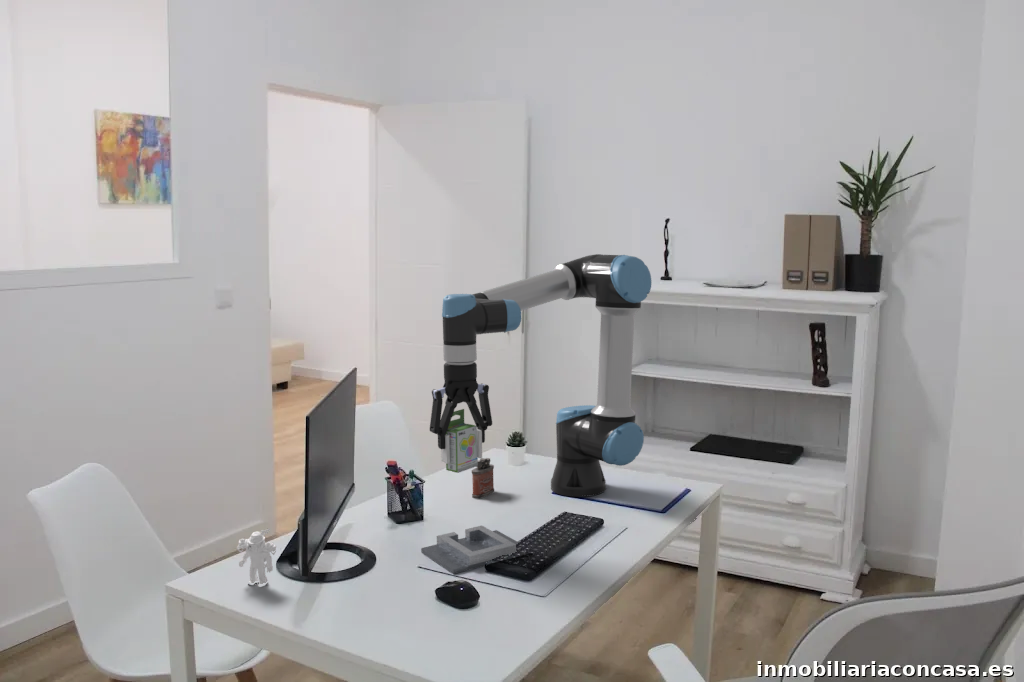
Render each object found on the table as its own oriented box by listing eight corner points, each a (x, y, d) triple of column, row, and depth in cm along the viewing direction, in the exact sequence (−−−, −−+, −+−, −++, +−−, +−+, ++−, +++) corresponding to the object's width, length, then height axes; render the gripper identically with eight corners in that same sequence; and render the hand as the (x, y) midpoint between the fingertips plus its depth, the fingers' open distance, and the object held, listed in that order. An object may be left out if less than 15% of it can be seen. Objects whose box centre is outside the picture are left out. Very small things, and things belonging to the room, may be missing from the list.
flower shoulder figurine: (281, 583, 185) (278, 527, 183) (270, 590, 182) (267, 534, 180) (246, 577, 188) (242, 523, 187) (234, 584, 185) (230, 529, 183)
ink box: (458, 473, 201) (457, 415, 200) (445, 470, 204) (444, 413, 202) (478, 466, 207) (477, 410, 205) (465, 463, 209) (464, 408, 207)
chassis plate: (496, 534, 211) (496, 522, 211) (531, 553, 199) (531, 540, 198) (421, 552, 201) (420, 539, 200) (453, 574, 188) (452, 560, 188)
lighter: (487, 489, 246) (486, 454, 244) (497, 491, 244) (496, 456, 242) (469, 497, 239) (468, 461, 238) (479, 499, 237) (478, 463, 236)
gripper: (491, 356, 210) (492, 449, 213) (411, 364, 200) (414, 462, 203) (507, 360, 204) (508, 456, 207) (426, 368, 193) (428, 470, 197)
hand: (462, 459), depth 205 cm, fingers closed on ink box, 8 cm apart
